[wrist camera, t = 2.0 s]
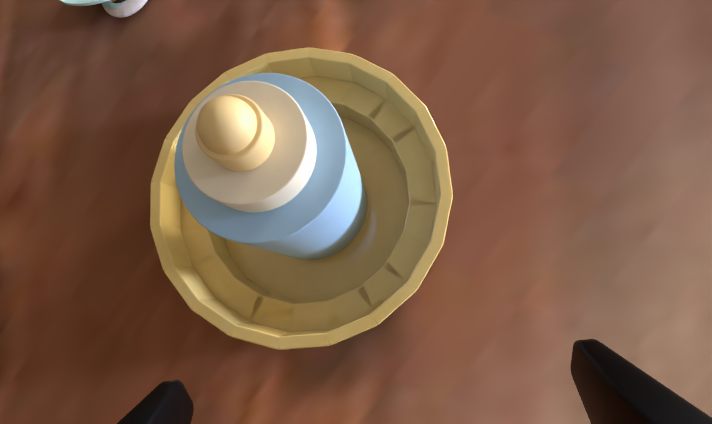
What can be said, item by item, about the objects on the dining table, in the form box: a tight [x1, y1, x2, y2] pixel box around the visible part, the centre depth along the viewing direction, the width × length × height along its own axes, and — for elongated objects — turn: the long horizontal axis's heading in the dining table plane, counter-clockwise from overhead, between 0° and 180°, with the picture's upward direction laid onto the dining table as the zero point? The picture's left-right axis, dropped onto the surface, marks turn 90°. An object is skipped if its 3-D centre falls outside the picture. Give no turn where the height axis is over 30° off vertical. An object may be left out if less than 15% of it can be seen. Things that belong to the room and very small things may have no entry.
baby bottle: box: [174, 73, 367, 260], centre depth 17 cm, size 7×7×12 cm
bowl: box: [150, 48, 453, 350], centre depth 22 cm, size 15×15×4 cm
